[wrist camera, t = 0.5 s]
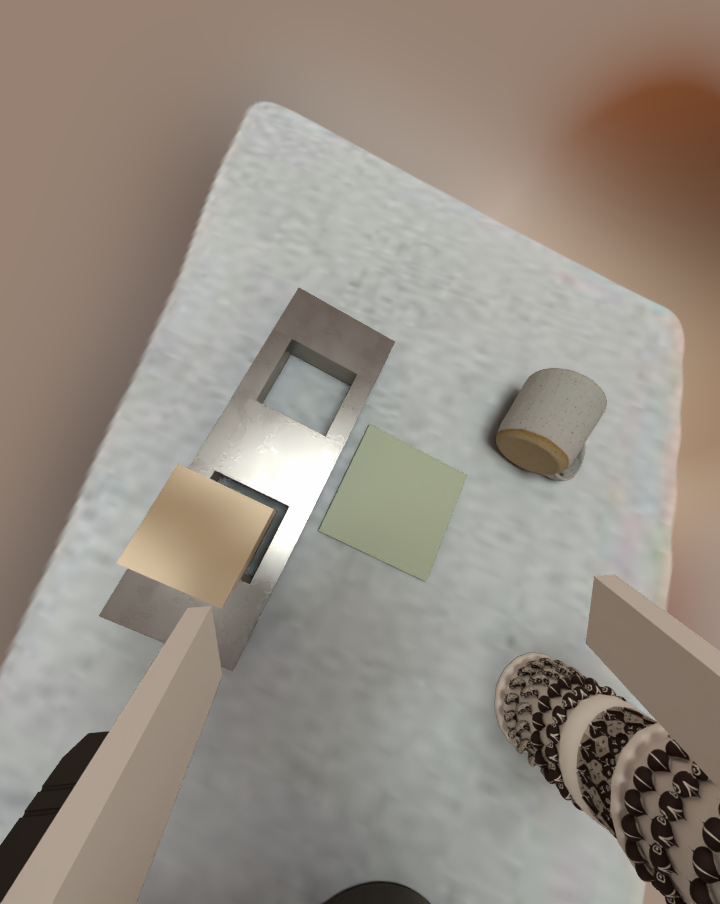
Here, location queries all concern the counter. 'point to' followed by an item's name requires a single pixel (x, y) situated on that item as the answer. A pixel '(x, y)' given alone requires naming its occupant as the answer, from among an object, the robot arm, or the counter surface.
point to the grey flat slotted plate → (267, 465)
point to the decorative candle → (617, 773)
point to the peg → (198, 537)
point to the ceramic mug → (551, 422)
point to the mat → (394, 503)
